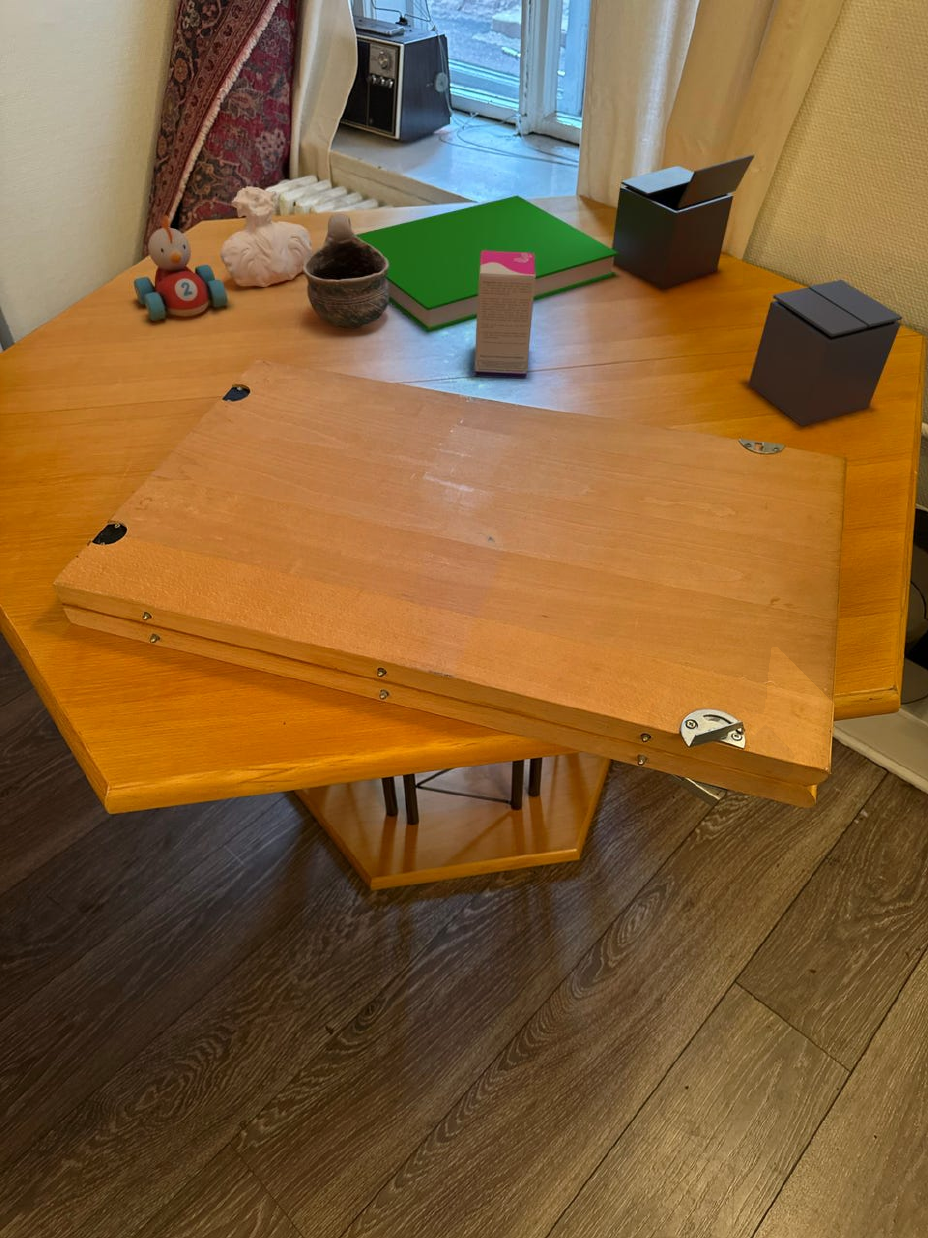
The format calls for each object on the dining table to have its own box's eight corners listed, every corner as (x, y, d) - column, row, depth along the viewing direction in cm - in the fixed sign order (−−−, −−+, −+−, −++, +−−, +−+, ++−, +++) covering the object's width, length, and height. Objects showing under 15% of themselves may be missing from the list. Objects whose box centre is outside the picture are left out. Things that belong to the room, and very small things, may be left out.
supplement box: (528, 378, 96) (535, 275, 88) (473, 376, 96) (476, 273, 88) (528, 351, 100) (535, 250, 92) (475, 350, 100) (477, 248, 92)
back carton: (717, 270, 116) (735, 189, 108) (662, 289, 112) (677, 206, 104) (663, 244, 121) (677, 165, 114) (610, 261, 117) (620, 180, 110)
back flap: (734, 189, 108) (735, 190, 108) (677, 206, 104) (678, 208, 104) (753, 153, 104) (754, 155, 104) (694, 170, 100) (696, 172, 100)
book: (615, 275, 114) (618, 252, 112) (427, 332, 103) (427, 307, 101) (514, 215, 127) (515, 193, 125) (338, 260, 116) (335, 237, 114)
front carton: (812, 367, 99) (841, 279, 91) (868, 407, 93) (903, 316, 86) (748, 384, 96) (772, 294, 89) (801, 426, 90) (832, 334, 83)
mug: (318, 345, 101) (308, 257, 94) (296, 296, 109) (285, 212, 102) (400, 332, 103) (397, 246, 96) (372, 286, 111) (367, 203, 104)
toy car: (155, 328, 103) (133, 242, 96) (136, 297, 108) (113, 213, 101) (232, 311, 106) (216, 226, 99) (209, 281, 111) (193, 199, 104)
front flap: (840, 282, 92) (841, 279, 91) (901, 319, 86) (902, 316, 86) (807, 289, 90) (808, 286, 90) (868, 327, 85) (869, 324, 85)
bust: (312, 279, 117) (278, 192, 115) (331, 261, 110) (296, 168, 108) (227, 303, 112) (190, 212, 110) (242, 285, 105) (203, 188, 103)
